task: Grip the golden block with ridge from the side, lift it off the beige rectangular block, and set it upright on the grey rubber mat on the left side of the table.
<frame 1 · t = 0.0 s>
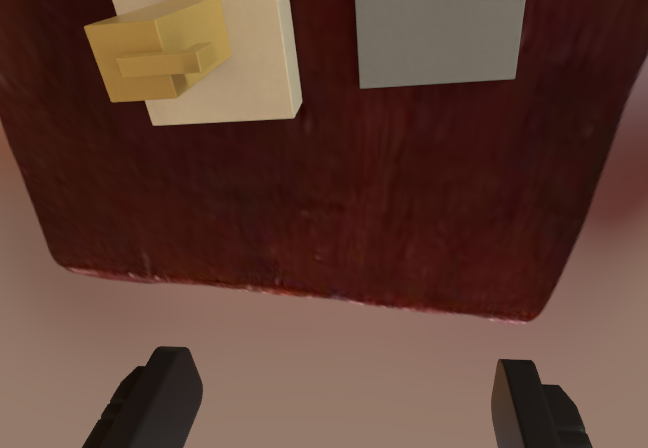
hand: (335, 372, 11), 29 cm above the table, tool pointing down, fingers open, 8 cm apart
beige rectangular block: (217, 19, 35), on the table
golden block with ridge: (199, 29, 32), point 4 cm above the table, touching beige rectangular block
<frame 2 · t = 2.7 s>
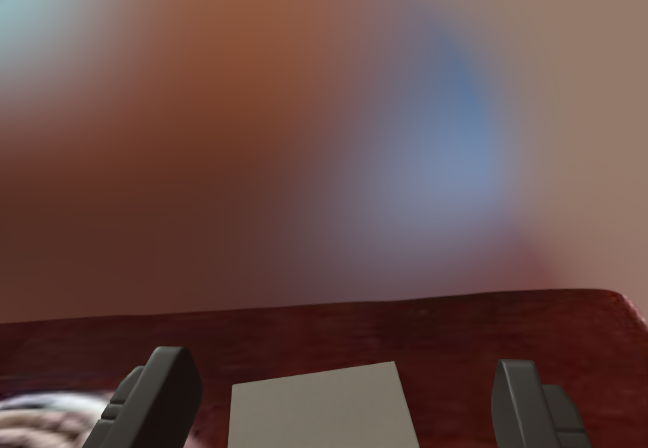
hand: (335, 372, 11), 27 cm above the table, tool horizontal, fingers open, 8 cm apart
left mat: (320, 434, 38), on the table
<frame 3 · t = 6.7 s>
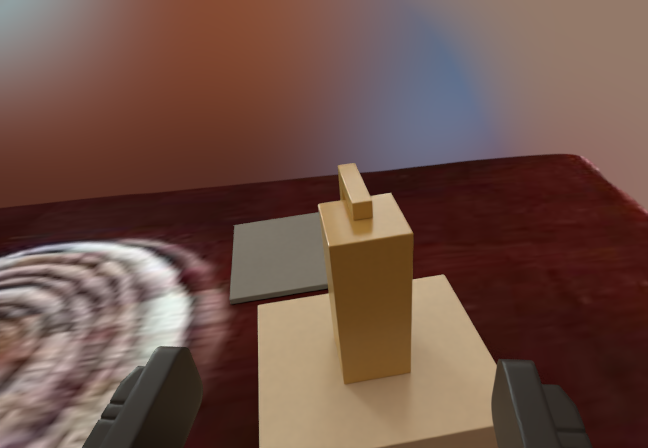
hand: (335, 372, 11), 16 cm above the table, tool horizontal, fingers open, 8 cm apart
left mat: (314, 250, 44), on the table
beige rectangular block: (372, 392, 30), on the table
golden block with ridge: (370, 352, 27), point 4 cm above the table, touching beige rectangular block
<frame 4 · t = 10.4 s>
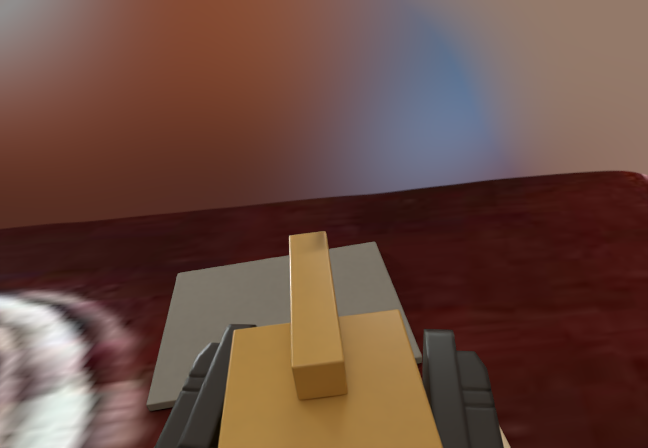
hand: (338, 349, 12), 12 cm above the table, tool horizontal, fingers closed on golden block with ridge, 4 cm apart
left mat: (282, 314, 31), on the table
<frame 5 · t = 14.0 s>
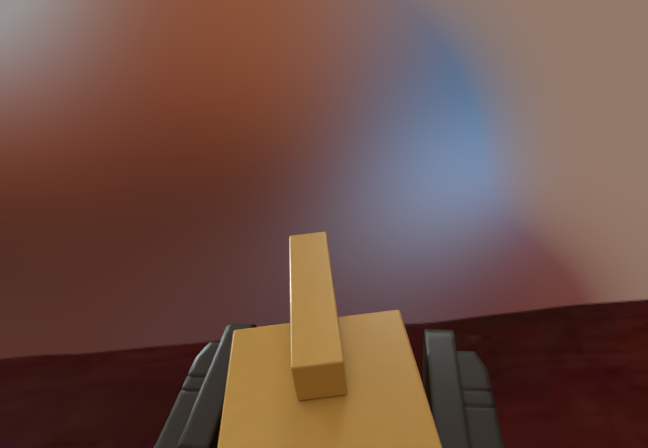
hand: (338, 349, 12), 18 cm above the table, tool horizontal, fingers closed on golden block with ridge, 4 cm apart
when the fingers open (9 cm above the table, at t = 17.7 s): golden block with ridge stays where it is, resting on left mat.
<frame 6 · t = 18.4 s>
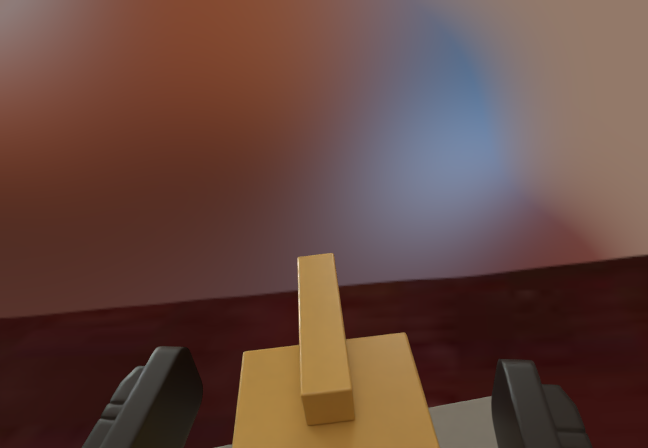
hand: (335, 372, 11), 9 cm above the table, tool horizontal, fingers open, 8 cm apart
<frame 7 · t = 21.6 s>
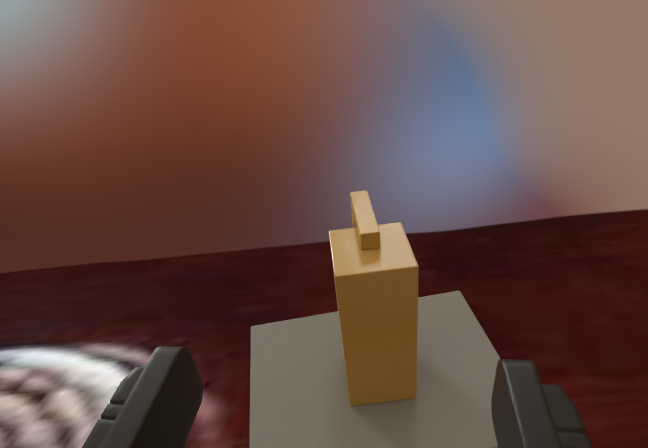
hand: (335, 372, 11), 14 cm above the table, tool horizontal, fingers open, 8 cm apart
left mat: (375, 378, 28), on the table
golden block with ridge: (377, 374, 28), point 1 cm above the table, touching left mat
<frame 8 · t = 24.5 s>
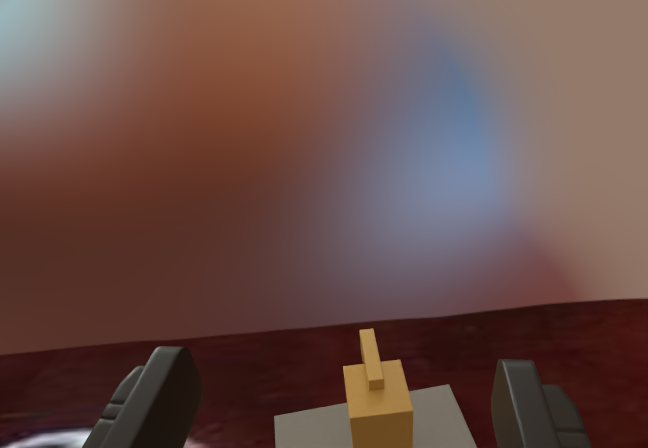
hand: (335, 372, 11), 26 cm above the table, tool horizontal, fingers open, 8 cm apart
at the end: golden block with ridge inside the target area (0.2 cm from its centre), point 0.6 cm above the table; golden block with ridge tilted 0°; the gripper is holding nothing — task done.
